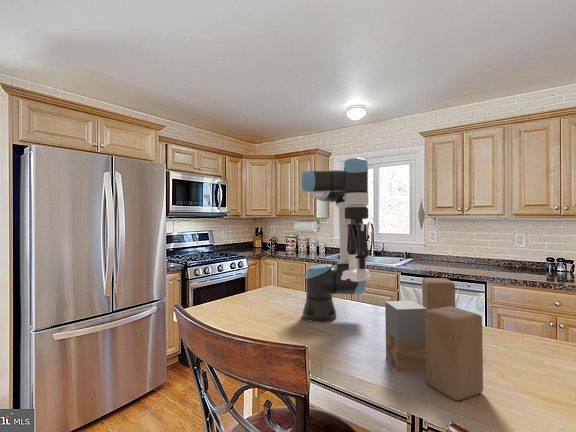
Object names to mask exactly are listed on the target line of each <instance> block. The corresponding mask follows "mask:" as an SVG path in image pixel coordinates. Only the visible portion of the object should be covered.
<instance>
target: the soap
mask: <svg viewBox="0 0 576 432" xmlns="http://www.w3.org/2000/svg"><path fill="white" fill-rule="evenodd" d="M370 273H371V272H370V270H369V269H367V270H366V279H363V280H357V268H355V269H350V270H346V271H343V273H342V276H341V280H347V279H350V281H354V282H359V281H364V280H366V281H367V280H370V279H371V278H372V275H371V274H370Z"/></svg>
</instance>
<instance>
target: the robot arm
mask: <svg viewBox="0 0 576 432" xmlns="http://www.w3.org/2000/svg"><path fill="white" fill-rule="evenodd" d="M343 164H344V165H343V169H342V170H340V169H339V170H337V169H335V170H309V171H308V170H307V171H303V172H302V173H301V190H302V192H304V193H310V196H311V197H312V198H314V199H316V200H318V201H322V202H326V203H335V207H336V208H337V209H338V211H339V212H338V213H339V214H338V217H339V218H338V219H339V221H338V223H339V225H338V226H339V261H338V262H337V263H336V267H333V265H332V264H331V263H322V264H315V265H311V266H309V267H307V268H306V271H305V273H306V275H305V279H306V281H305V285H306V288H305V290H306V291H305V292H306V300H305V304H304V306H303V310H302V318H303V317H304V318H305V320H306V319H307V321H309V320H311V321H310V322H314V321H320V322H319V323H324V322H325V323H326V321H327V322H331V320H332V321H335V320H336V319H337V311H336V308H335V307H336V306H335V304H334V302H333V295H362V294H364V292H365V290H366V285H367V280H364V281H359V282H354V281H350V279H347V280H341V276H342V273H343V271H346V270H350V269H355V268H357V280H363V279H366V270H368V269H367V262H366V261H367V257H369V248H368V237H367V236H368V235H367V234H368V233H367V223H366V224H365V223H364V222H363V220H365V219H366V220H368V219H369V207H367V206H368V205H369V191H368V189H369V187H368V186H369V173H368V171H369V166H368V160H367V159H366V158H364V157H363V158H362V157H353V158H347V159H345V160H344V163H343ZM304 318H303V319H304ZM335 318H336V319H335Z"/></svg>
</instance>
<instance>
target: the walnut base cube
mask: <svg viewBox="0 0 576 432" xmlns="http://www.w3.org/2000/svg"><path fill="white" fill-rule="evenodd" d="M385 359H386V360H387V361H388V362H389V364H390V365H391V366H392V367H393V368H394V370H396V371H397V372H400V373H401V372H417V371H421V372H422V371H426V355H425V339H423V340H398V341H397V340H396V339H395V338H394V337H393V336H392V335H391V334H390V333H389V332H387V331H386V330H385Z"/></svg>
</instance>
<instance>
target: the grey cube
mask: <svg viewBox="0 0 576 432" xmlns="http://www.w3.org/2000/svg"><path fill="white" fill-rule="evenodd" d="M384 307H385V316H384V317H385V332H386V331H387V332H389V333H390V334H391V335H392V336H393V337H394V338H395V339H396V340H397V341H398V340H423V339H425V312H426V310H427V308H425V307H423V305H421V304H419V303H418V302H416V301H415V300H397V301H395V300H393V301H391V300H389V301H387V300H386V301H385V304H384Z"/></svg>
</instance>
